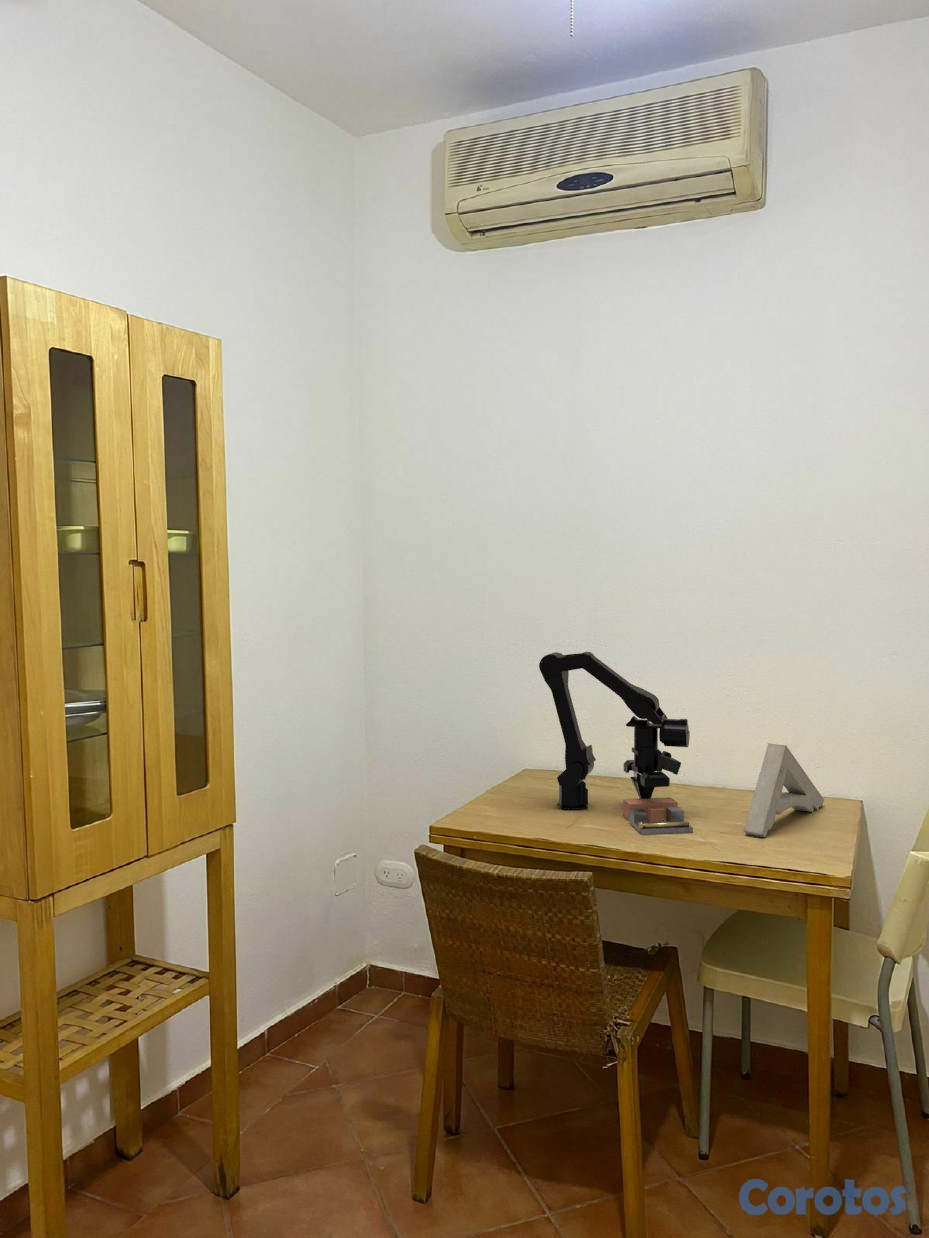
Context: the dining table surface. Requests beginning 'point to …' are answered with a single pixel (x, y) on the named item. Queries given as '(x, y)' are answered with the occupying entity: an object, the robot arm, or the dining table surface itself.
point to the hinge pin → (662, 824)
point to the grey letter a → (780, 790)
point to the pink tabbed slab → (649, 807)
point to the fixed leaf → (672, 816)
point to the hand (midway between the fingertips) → (645, 807)
